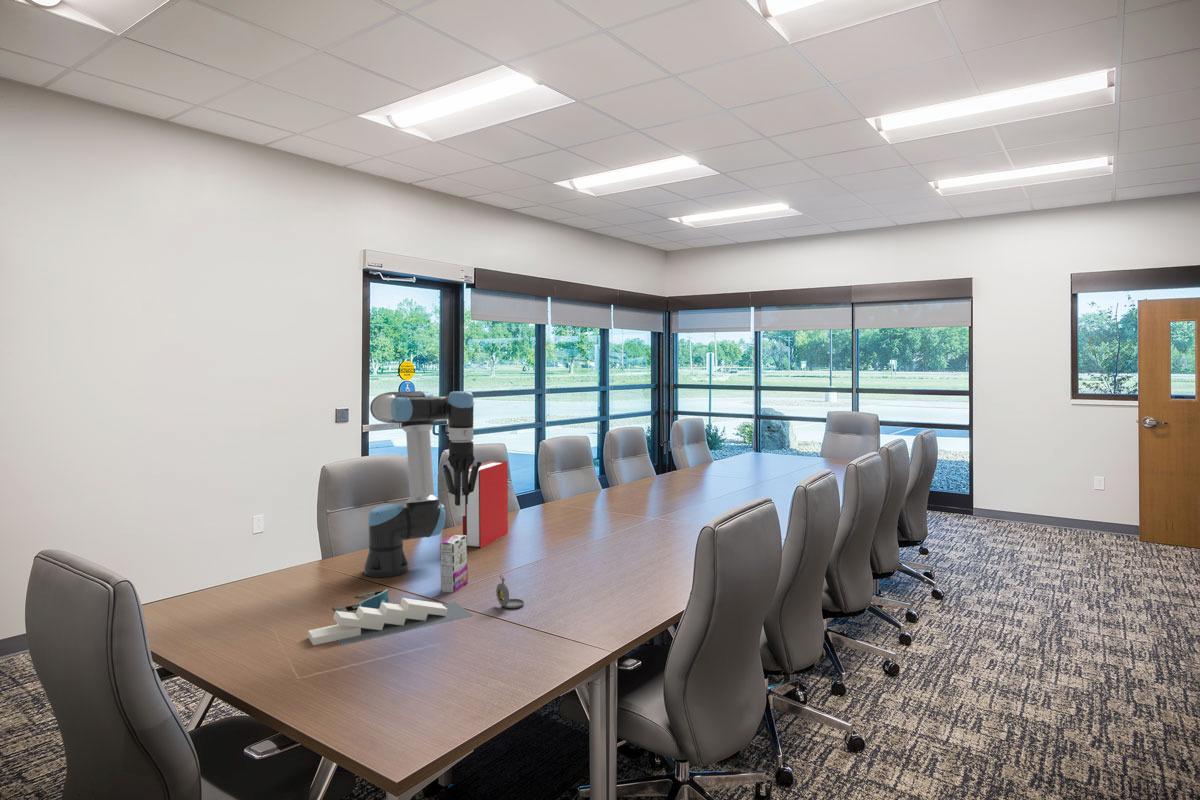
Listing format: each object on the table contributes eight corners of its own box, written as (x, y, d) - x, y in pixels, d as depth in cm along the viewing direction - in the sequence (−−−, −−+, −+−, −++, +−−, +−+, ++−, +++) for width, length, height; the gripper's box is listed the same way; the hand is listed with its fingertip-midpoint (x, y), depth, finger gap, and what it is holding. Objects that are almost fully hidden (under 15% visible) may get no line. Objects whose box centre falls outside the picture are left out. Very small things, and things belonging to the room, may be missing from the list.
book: (480, 548, 268) (479, 469, 267) (462, 547, 270) (462, 469, 269) (509, 532, 294) (508, 461, 293) (492, 531, 296) (492, 460, 295)
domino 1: (354, 627, 184) (308, 637, 177) (354, 620, 183) (308, 630, 177) (360, 634, 179) (313, 645, 172) (360, 627, 178) (313, 637, 172)
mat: (328, 629, 183) (328, 628, 183) (455, 603, 204) (455, 601, 204) (341, 646, 172) (341, 645, 172) (473, 616, 193) (473, 615, 193)
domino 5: (438, 609, 197) (400, 604, 190) (440, 603, 197) (402, 597, 191) (445, 616, 192) (406, 610, 186) (447, 609, 193) (409, 603, 186)
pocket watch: (527, 603, 204) (527, 571, 204) (515, 612, 196) (515, 579, 196) (503, 600, 207) (503, 568, 207) (490, 609, 199) (490, 576, 199)
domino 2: (375, 623, 187) (333, 618, 180) (377, 616, 187) (335, 610, 180) (381, 630, 182) (338, 624, 175) (384, 623, 182) (341, 617, 176)
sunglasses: (369, 617, 193) (367, 600, 193) (328, 618, 198) (326, 601, 198) (398, 601, 207) (396, 585, 207) (359, 602, 212) (357, 586, 212)
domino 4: (418, 614, 194) (379, 609, 187) (420, 607, 194) (381, 602, 187) (425, 620, 189) (385, 615, 182) (427, 613, 189) (387, 608, 182)
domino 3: (396, 619, 190) (355, 613, 184) (398, 612, 190) (358, 606, 184) (403, 625, 185) (361, 620, 179) (405, 618, 185) (364, 612, 179)
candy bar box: (454, 582, 225) (453, 534, 224) (468, 583, 224) (467, 534, 223) (439, 592, 214) (439, 542, 213) (454, 593, 213) (453, 543, 212)
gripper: (445, 443, 200) (445, 520, 202) (485, 440, 208) (485, 515, 209) (436, 440, 206) (437, 515, 208) (475, 438, 214) (475, 510, 215)
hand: (461, 515), depth 209 cm, fingers closed
